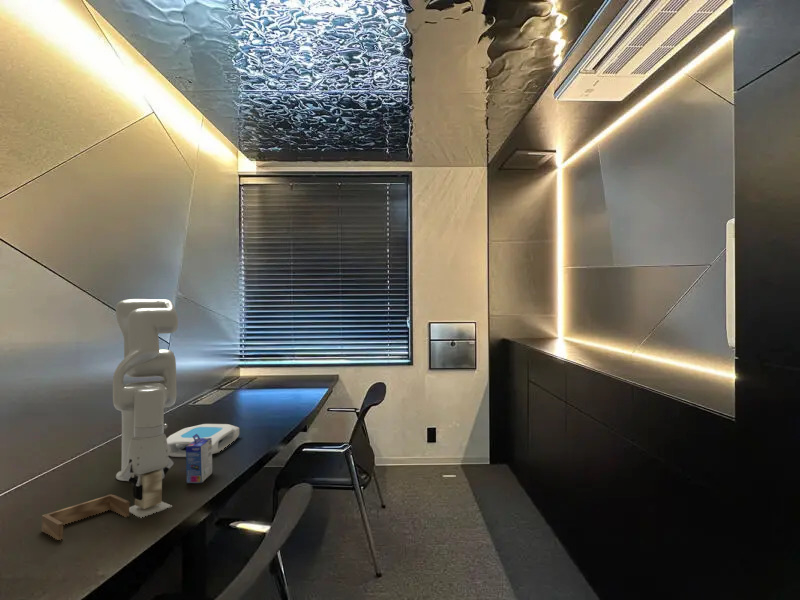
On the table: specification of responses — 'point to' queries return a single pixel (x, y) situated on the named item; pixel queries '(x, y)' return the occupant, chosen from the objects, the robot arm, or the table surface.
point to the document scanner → (213, 431)
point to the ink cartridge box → (198, 459)
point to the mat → (148, 509)
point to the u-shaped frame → (82, 513)
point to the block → (151, 489)
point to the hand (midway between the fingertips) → (148, 494)
